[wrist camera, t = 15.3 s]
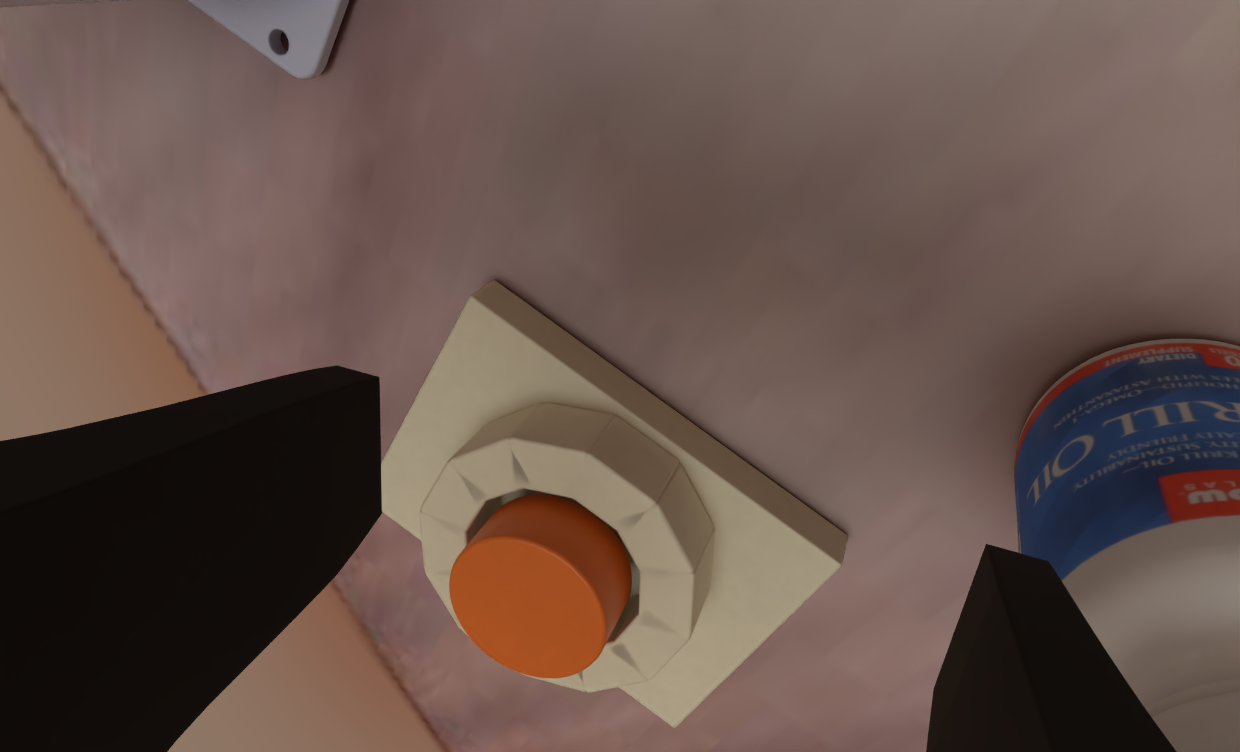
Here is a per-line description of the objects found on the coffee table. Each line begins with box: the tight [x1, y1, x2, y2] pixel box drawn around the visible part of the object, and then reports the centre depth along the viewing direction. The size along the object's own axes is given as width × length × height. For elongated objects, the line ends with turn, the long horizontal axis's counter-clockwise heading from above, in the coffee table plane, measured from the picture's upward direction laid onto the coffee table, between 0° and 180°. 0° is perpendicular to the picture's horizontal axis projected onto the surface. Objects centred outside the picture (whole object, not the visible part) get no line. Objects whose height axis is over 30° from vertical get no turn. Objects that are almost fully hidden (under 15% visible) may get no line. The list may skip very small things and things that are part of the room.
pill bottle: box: [1014, 339, 1240, 752], centre depth 13 cm, size 6×5×10 cm
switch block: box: [381, 280, 848, 728], centre depth 21 cm, size 10×7×3 cm
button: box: [449, 494, 632, 678], centre depth 19 cm, size 4×4×2 cm
